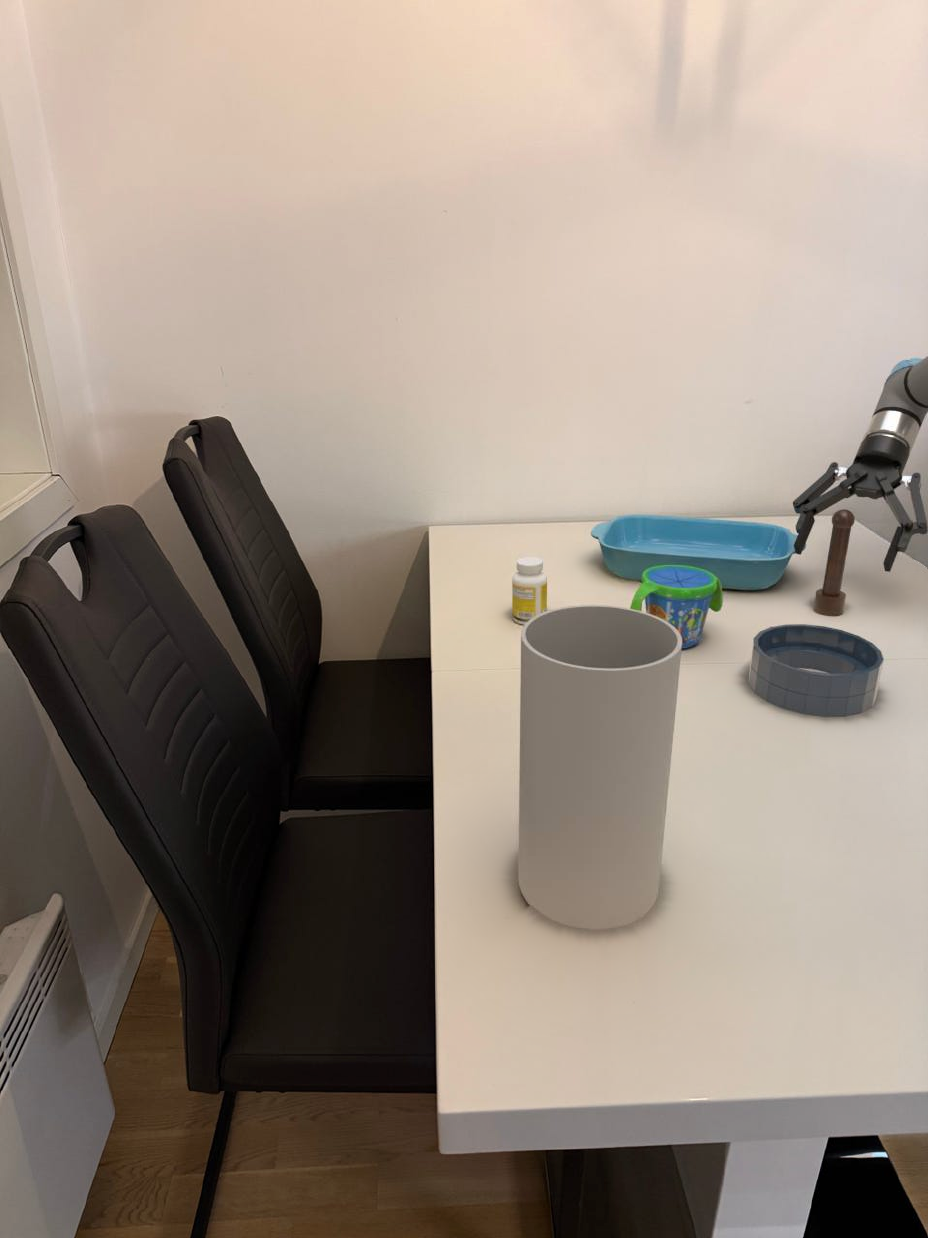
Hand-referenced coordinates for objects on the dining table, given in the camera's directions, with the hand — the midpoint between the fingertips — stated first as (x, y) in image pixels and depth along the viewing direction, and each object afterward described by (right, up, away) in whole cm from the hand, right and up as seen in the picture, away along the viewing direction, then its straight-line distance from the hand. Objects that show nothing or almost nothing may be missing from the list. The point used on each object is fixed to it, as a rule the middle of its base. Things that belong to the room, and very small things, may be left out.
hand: (840, 558), depth 132 cm
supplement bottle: (-49, -10, +1) cm, 50 cm away
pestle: (-1, -8, +2) cm, 8 cm away
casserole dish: (-18, -1, +20) cm, 27 cm away
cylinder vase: (-48, -34, -56) cm, 81 cm away
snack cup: (-28, -13, -7) cm, 32 cm away
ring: (-14, -19, -23) cm, 33 cm away
